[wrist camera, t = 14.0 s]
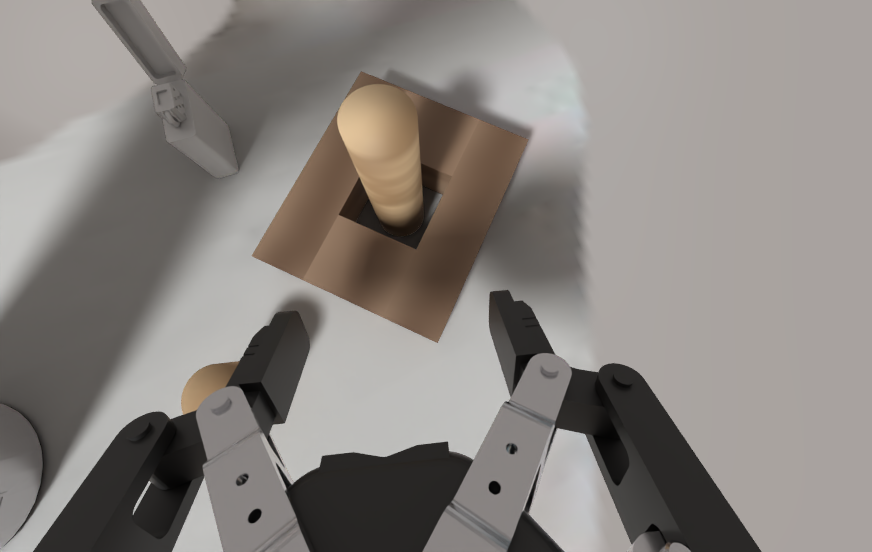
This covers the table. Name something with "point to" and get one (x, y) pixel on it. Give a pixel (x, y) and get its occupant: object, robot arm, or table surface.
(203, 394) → the short pin
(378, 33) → the table surface
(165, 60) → the lighter
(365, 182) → the long pin
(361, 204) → the hole plate
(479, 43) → the table surface
